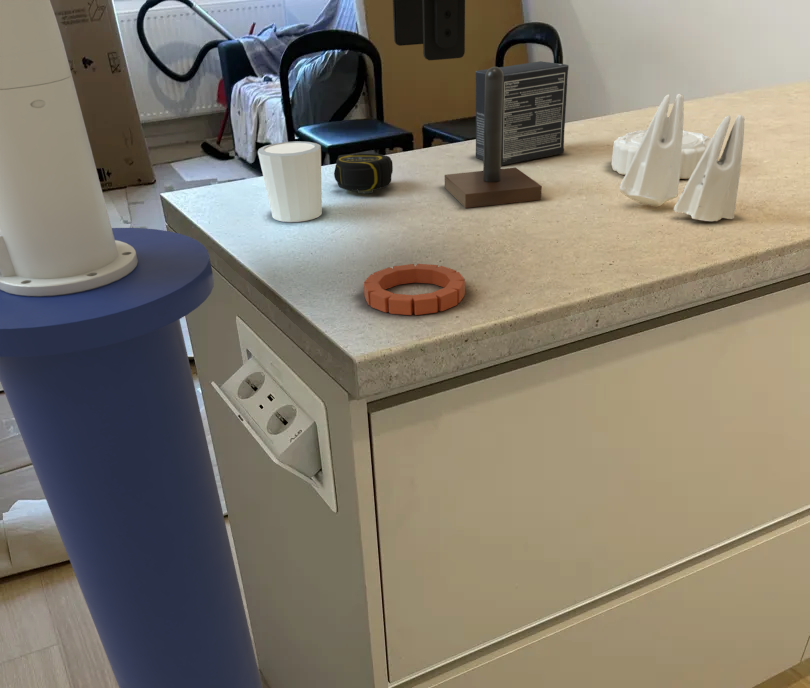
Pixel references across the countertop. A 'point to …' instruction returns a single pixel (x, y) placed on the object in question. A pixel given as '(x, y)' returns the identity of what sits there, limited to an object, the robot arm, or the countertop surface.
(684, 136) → the mooncake
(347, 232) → the countertop surface
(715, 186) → the shaker set
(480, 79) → the small box
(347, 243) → the countertop surface
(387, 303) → the ring
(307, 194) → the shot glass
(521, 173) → the stand
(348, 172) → the tape measure
